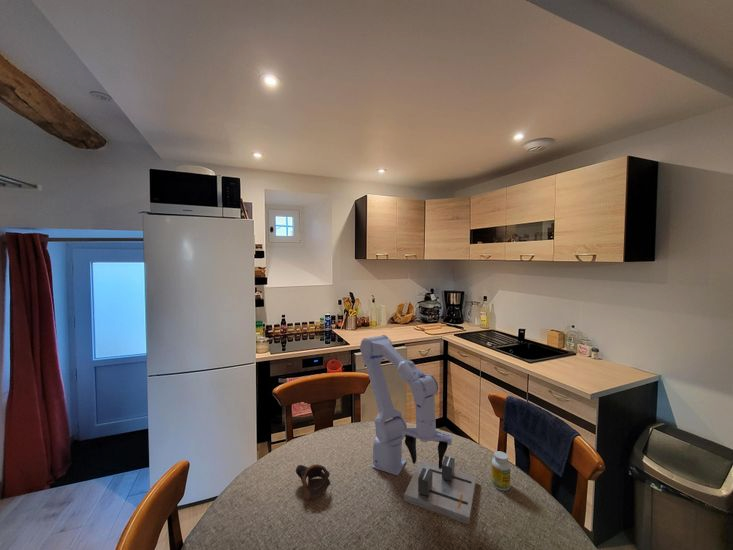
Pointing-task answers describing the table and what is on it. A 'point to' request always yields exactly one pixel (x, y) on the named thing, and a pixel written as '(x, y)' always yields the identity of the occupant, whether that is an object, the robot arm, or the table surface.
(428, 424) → the robot arm
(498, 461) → the supplement bottle
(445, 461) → the far fader
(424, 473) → the block
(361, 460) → the table surface
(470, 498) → the fader panel
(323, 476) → the pottery mug
